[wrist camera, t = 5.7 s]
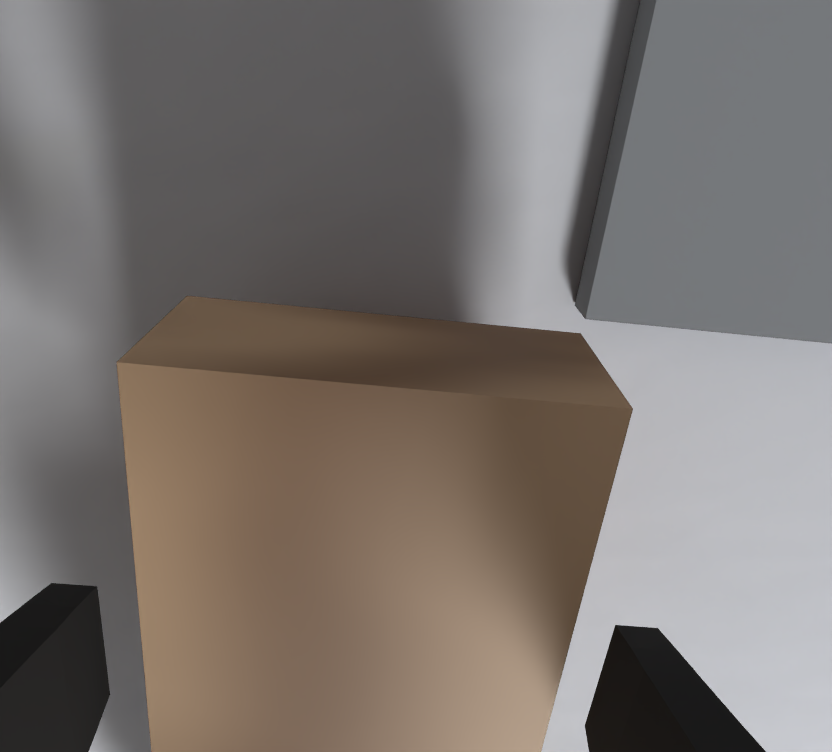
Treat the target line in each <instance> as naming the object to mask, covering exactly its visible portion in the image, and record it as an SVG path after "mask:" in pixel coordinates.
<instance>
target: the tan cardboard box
mask: <svg viewBox="0 0 832 752" xmlns="http://www.w3.org/2000/svg"><path fill="white" fill-rule="evenodd" d="M117 373H118V384H119V395H120V406H121V418H122V429H123V440H124V451H125V462H126V473H127V485H128V496H129V507H130V518H131V529H132V540H133V552H134V563H135V574H136V585H137V596H138V607H139V619H140V630H141V641H142V652H143V663H144V674H145V686H146V697H147V708H148V719H149V730H150V741H151V752H541V750H542V746H543V742H544V739H545V735H546V731H547V727H548V724H549V720H550V716H551V713H552V709H553V705H554V701H555V698H556V694H557V690H558V686H559V683H560V679H561V675H562V671H563V668H564V664H565V660H566V657H567V653H568V649H569V645H570V642H571V638H572V634H573V630H574V627H575V623H576V619H577V616H578V612H579V608H580V604H581V601H582V597H583V593H584V589H585V586H586V582H587V578H588V574H589V571H590V567H591V563H592V560H593V556H594V552H595V548H596V545H597V541H598V537H599V533H600V530H601V526H602V522H603V518H604V515H605V511H606V507H607V504H608V500H609V496H610V492H611V489H612V485H613V481H614V477H615V474H616V470H617V466H618V463H619V459H620V455H621V451H622V448H623V444H624V440H625V436H626V433H627V429H628V425H629V421H630V418H631V414H632V410H633V408H632V407H631V405H630V404H629V403H628V401H627V400H626V398H625V397H624V395H623V394H622V392H621V391H620V390H619V388H618V387H617V385H616V384H615V382H614V381H613V379H612V378H611V377H610V375H609V374H608V372H607V371H606V369H605V368H604V367H603V365H602V364H601V362H600V361H599V359H598V358H597V356H596V355H595V354H594V352H593V351H592V349H591V348H590V346H589V345H588V343H587V342H586V341H585V339H584V338H583V336H582V335H581V333H570V332H560V331H550V330H539V329H529V328H518V327H508V326H497V325H487V324H477V323H466V322H456V321H445V320H435V319H424V318H414V317H404V316H393V315H383V314H372V313H362V312H351V311H341V310H331V309H320V308H310V307H299V306H289V305H278V304H268V303H258V302H247V301H237V300H226V299H216V298H206V297H195V296H186V297H185V298H184V299H183V300H182V301H181V302H180V303H179V304H178V305H177V306H176V307H175V308H174V309H173V310H171V311H170V312H169V313H168V314H167V315H166V316H165V317H164V318H163V319H162V320H161V321H160V322H159V323H158V324H157V325H156V326H154V327H153V328H152V329H151V330H150V331H149V332H148V333H147V334H146V335H145V336H144V337H143V338H142V339H141V340H140V341H139V342H138V343H136V344H135V345H134V346H133V347H132V348H131V349H130V350H129V351H128V352H127V353H126V354H125V355H124V356H123V357H122V358H121V359H119V360H118V361H117Z"/></svg>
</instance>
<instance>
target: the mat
mask: <svg viewBox="0 0 832 752" xmlns="http://www.w3.org/2000/svg"><path fill="white" fill-rule="evenodd" d="M575 306H576V307H577V309H578V310H579V311H580V313H581V314H582V315H583V317H584V318H585V319H590V320H600V321H610V322H620V323H630V324H640V325H650V326H661V327H671V328H681V329H691V330H701V331H711V332H721V333H731V334H741V335H751V336H762V337H772V338H782V339H792V340H802V341H812V342H822V343H832V0H640V4H639V9H638V13H637V18H636V23H635V27H634V32H633V37H632V41H631V46H630V51H629V55H628V60H627V65H626V69H625V74H624V79H623V83H622V88H621V93H620V97H619V102H618V107H617V111H616V116H615V121H614V125H613V130H612V135H611V139H610V144H609V149H608V153H607V158H606V163H605V167H604V172H603V177H602V181H601V186H600V191H599V195H598V200H597V205H596V209H595V214H594V219H593V223H592V228H591V233H590V237H589V242H588V247H587V251H586V256H585V261H584V265H583V270H582V275H581V279H580V284H579V289H578V293H577V298H576V303H575Z"/></svg>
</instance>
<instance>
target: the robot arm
mask: <svg viewBox="0 0 832 752" xmlns="http://www.w3.org/2000/svg"><path fill="white" fill-rule="evenodd" d="M109 695H110V691H109V683H108V674H107V666H106V657H105V649H104V640H103V632H102V624H101V615H100V607H99V598H98V590H97V587H96V586H83V585H69V584H56V583H51V584H50V585H48V586H47V587H46V588H45V589H43V590H42V591H41V592H39V593H38V594H37V595H35V596H34V597H33V598H32V599H30V600H29V601H28V602H26V603H25V604H24V605H22V606H21V607H20V608H19V609H17V610H16V611H15V612H14V613H12V614H11V615H10V616H8V617H7V618H6V619H5V620H3V621H2V622H1V623H0V752H88V751H89V749H90V746H91V744H92V741H93V739H94V736H95V733H96V731H97V728H98V725H99V722H100V720H101V717H102V714H103V712H104V709H105V706H106V703H107V701H108V698H109ZM585 729H586V735H587V741H588V747H589V752H766V751H765V750H764V749H763V748H762V747H761V746H760V745H759V744H758V743H757V741H756V740H755V739H754V738H753V737H752V736H751V735H750V734H749V732H748V731H747V730H746V729H745V728H744V727H743V726H742V725H741V723H740V722H739V721H738V720H737V719H736V718H735V717H734V715H733V714H732V713H731V712H730V711H729V710H728V709H727V707H726V706H725V705H724V704H723V703H722V702H721V700H720V699H719V698H718V697H717V696H716V695H715V694H714V692H713V691H712V690H711V689H710V688H709V687H708V686H707V684H706V683H705V682H704V681H703V680H702V679H701V677H700V676H699V675H698V674H697V673H696V672H695V670H694V669H693V668H692V667H691V666H690V665H689V663H688V662H687V661H686V660H685V659H684V658H683V657H682V655H681V654H680V653H679V652H678V651H677V650H676V648H675V647H674V646H673V645H672V644H671V643H670V642H669V640H668V639H667V638H666V637H665V636H664V635H663V634H662V633H661V631H660V630H659V629H658V628H647V627H634V626H621V625H615V628H614V632H613V635H612V638H611V642H610V645H609V648H608V651H607V655H606V658H605V661H604V665H603V668H602V671H601V674H600V678H599V681H598V684H597V688H596V691H595V694H594V698H593V701H592V704H591V707H590V711H589V714H588V717H587V721H586V724H585Z"/></svg>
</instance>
